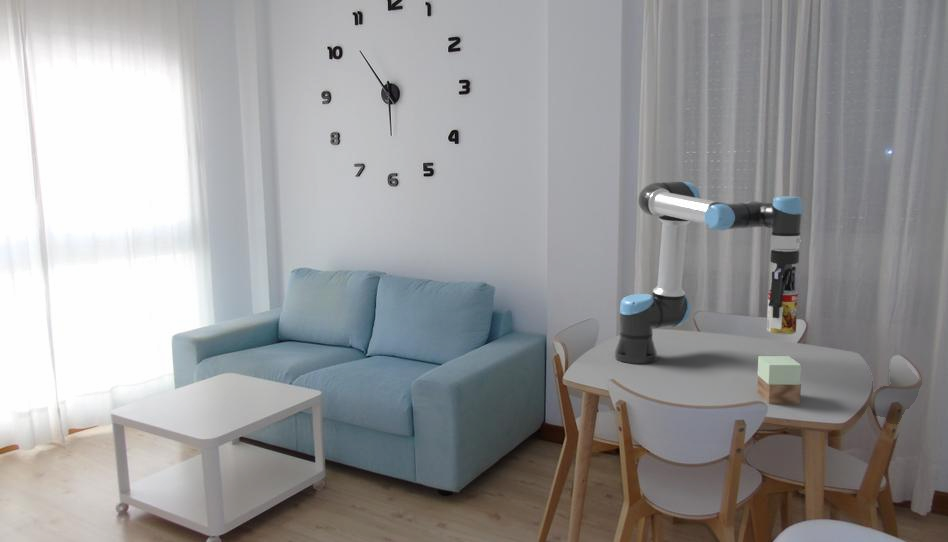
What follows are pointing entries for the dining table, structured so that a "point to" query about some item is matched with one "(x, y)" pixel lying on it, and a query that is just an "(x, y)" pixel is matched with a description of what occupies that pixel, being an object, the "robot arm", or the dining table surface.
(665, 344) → the dining table surface
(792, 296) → the canned food
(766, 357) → the sage block
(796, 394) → the walnut block
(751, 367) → the dining table surface
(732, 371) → the dining table surface
